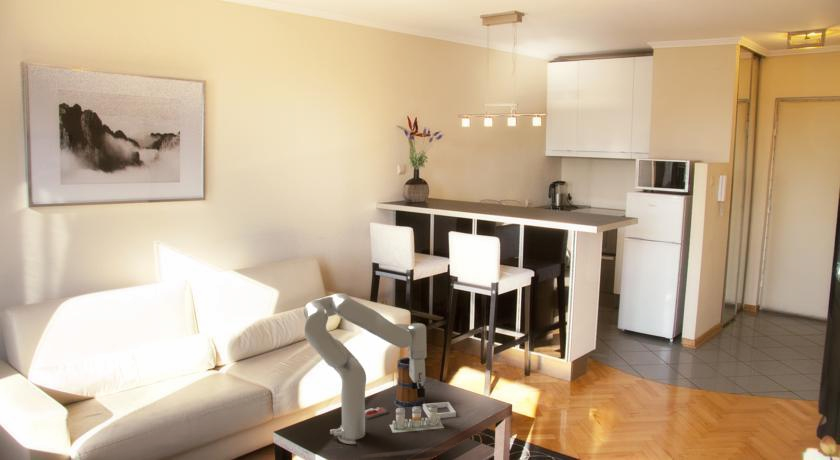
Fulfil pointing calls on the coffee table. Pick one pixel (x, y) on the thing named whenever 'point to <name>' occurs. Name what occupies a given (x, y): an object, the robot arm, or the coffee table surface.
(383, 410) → the red flat piece
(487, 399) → the coffee table surface
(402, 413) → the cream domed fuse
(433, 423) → the far fuse
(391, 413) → the coffee table surface
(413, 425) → the marked fuse
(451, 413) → the tray
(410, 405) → the mug
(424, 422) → the board
